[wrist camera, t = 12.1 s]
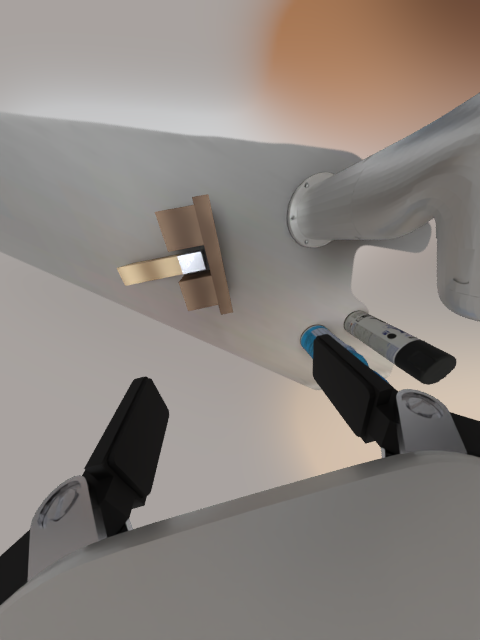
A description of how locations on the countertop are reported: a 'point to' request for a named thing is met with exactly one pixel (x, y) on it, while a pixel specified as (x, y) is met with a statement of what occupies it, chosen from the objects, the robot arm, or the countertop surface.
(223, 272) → the wooden two-prong bracket
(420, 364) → the spray can
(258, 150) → the countertop surface
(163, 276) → the silver and tan rail
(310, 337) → the beverage bottle
